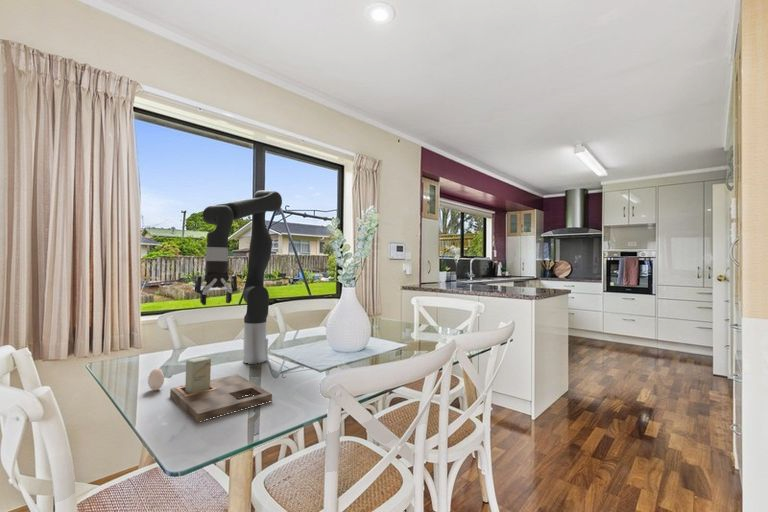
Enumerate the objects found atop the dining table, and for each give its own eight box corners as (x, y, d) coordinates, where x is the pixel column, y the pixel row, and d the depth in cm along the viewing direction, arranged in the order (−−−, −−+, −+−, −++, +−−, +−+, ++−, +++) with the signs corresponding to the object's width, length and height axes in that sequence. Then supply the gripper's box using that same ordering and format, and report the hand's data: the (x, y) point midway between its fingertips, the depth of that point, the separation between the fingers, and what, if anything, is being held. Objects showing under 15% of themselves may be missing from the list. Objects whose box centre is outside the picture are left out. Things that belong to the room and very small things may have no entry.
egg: (145, 393, 121) (145, 370, 121) (151, 388, 126) (151, 366, 126) (160, 392, 122) (161, 370, 122) (166, 387, 127) (166, 365, 127)
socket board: (237, 381, 135) (237, 373, 135) (271, 402, 116) (272, 393, 116) (170, 396, 119) (170, 387, 119) (197, 423, 101) (197, 413, 101)
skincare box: (191, 401, 116) (192, 362, 116) (184, 397, 118) (185, 359, 118) (210, 395, 121) (211, 358, 121) (203, 392, 123) (204, 355, 123)
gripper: (232, 259, 142) (231, 301, 142) (192, 259, 132) (191, 304, 132) (240, 260, 137) (239, 303, 137) (200, 259, 127) (199, 306, 127)
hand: (216, 304), depth 135 cm, fingers open, 8 cm apart
